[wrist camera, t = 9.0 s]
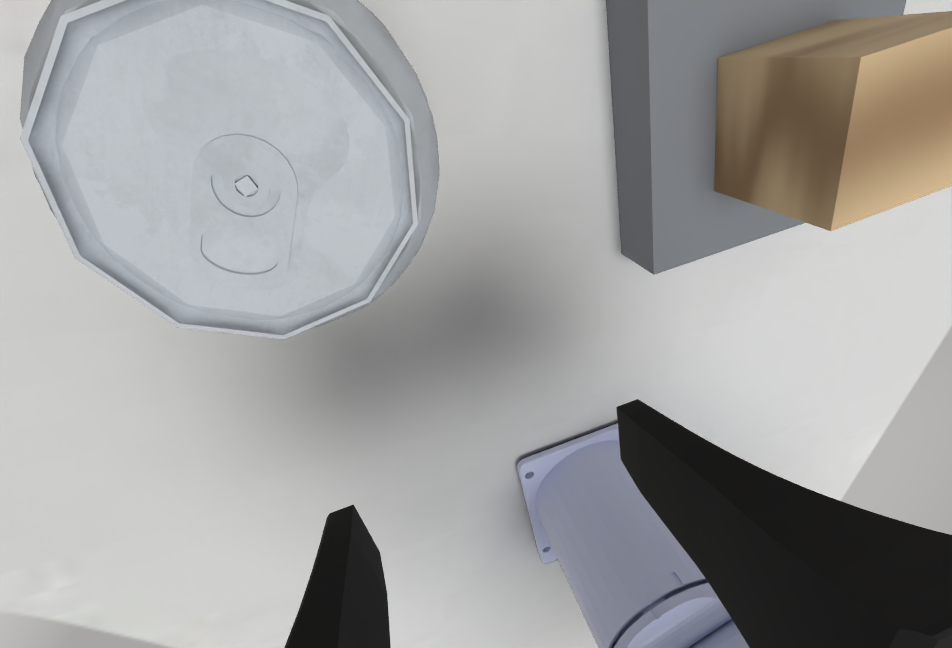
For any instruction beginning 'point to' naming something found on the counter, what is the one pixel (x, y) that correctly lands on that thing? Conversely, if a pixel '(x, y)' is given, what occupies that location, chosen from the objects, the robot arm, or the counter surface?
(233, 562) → the counter surface
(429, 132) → the beer can
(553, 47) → the counter surface
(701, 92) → the charcoal base
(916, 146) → the oak block
